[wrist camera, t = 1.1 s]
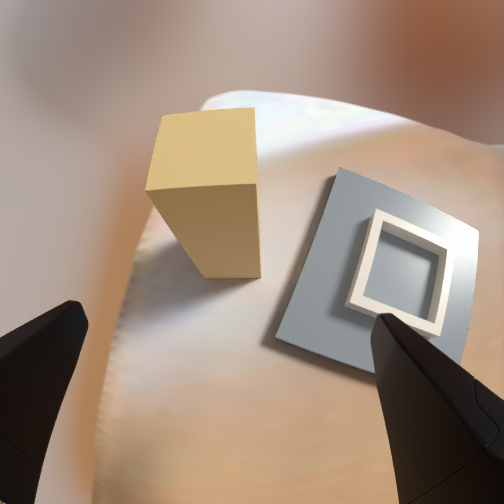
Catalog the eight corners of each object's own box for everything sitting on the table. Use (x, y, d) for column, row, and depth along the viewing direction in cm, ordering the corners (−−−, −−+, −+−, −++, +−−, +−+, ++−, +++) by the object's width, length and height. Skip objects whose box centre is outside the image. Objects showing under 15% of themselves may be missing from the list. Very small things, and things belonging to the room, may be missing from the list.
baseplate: (443, 394, 18) (460, 395, 16) (274, 337, 21) (275, 335, 19) (472, 235, 23) (486, 224, 21) (336, 174, 26) (342, 157, 24)
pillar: (261, 277, 23) (256, 183, 11) (204, 278, 23) (144, 190, 11) (259, 226, 25) (254, 107, 13) (207, 228, 25) (162, 115, 13)
